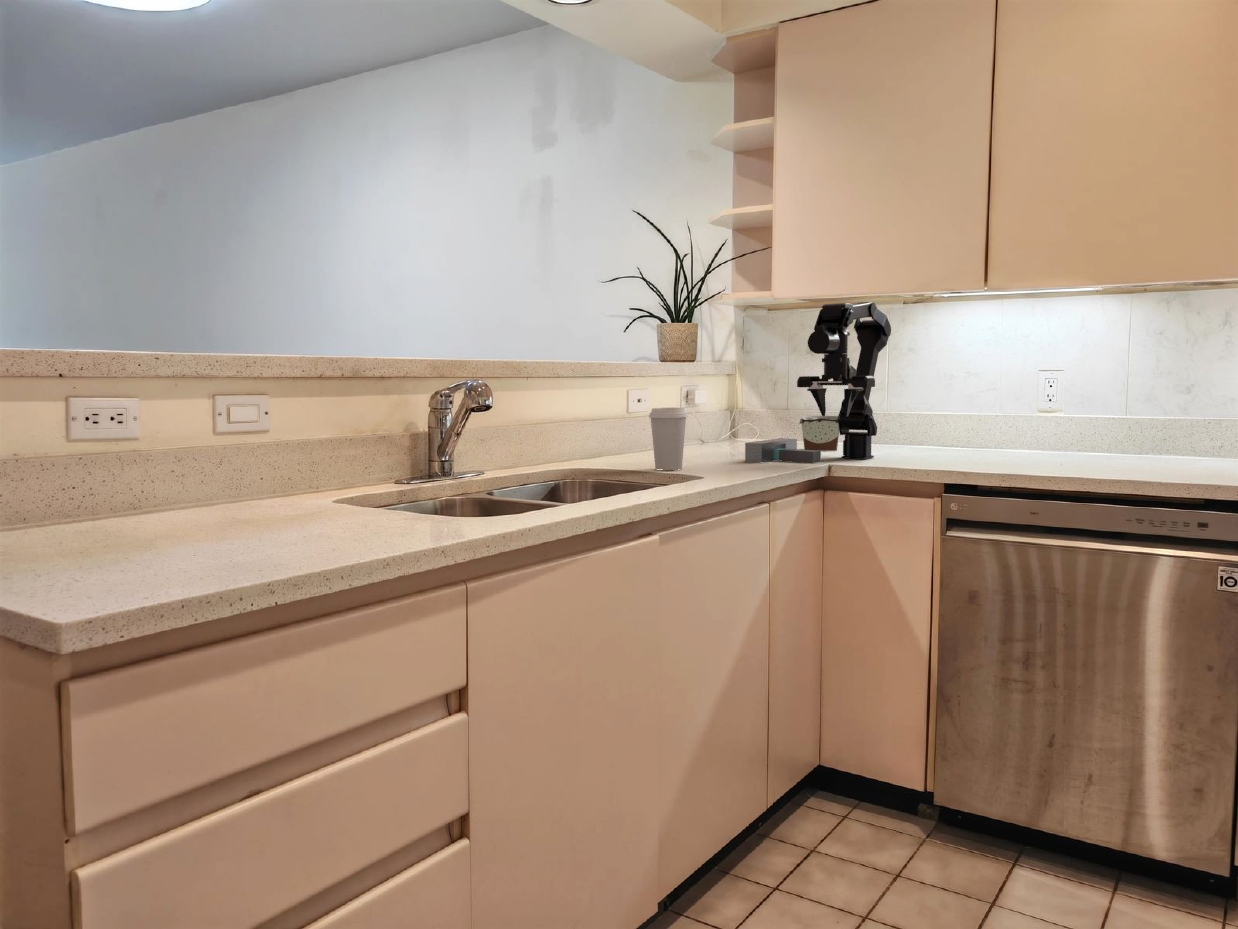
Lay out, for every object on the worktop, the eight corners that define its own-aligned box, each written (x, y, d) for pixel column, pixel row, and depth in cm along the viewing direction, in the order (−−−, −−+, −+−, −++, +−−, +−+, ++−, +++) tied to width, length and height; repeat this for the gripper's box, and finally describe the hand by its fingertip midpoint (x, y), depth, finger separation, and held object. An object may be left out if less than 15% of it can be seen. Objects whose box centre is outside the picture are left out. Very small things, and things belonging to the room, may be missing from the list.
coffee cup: (685, 471, 216) (685, 409, 215) (646, 471, 218) (645, 409, 217) (690, 467, 226) (690, 407, 224) (652, 467, 228) (652, 407, 226)
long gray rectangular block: (796, 457, 247) (796, 438, 247) (761, 462, 234) (761, 443, 233) (780, 456, 250) (780, 438, 250) (745, 461, 237) (745, 442, 236)
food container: (839, 449, 269) (839, 415, 268) (842, 450, 263) (842, 416, 262) (797, 449, 271) (797, 415, 270) (799, 451, 264) (799, 416, 263)
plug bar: (820, 462, 235) (820, 450, 234) (812, 463, 232) (813, 451, 231) (777, 459, 243) (777, 448, 243) (769, 460, 240) (769, 449, 240)
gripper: (883, 353, 228) (882, 415, 229) (815, 354, 239) (814, 413, 241) (866, 353, 219) (865, 417, 221) (796, 354, 230) (795, 416, 232)
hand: (835, 416), depth 229 cm, fingers open, 6 cm apart
